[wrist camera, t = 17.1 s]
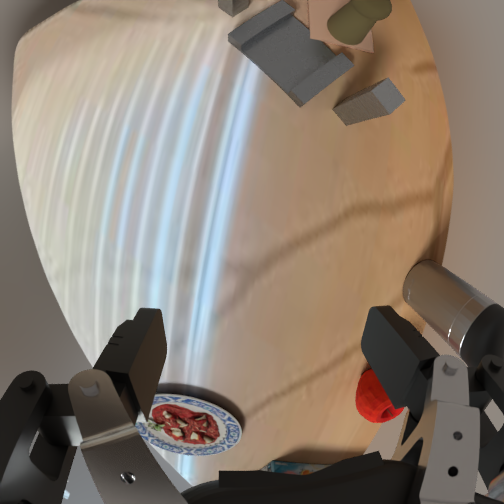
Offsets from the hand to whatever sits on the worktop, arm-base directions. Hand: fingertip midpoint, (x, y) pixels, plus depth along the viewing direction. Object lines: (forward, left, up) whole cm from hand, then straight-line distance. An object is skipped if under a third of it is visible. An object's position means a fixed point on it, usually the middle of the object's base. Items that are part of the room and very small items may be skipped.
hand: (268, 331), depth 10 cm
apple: (-26, +33, -28) cm, 51 cm away
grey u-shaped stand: (-5, -22, -28) cm, 36 cm away
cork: (-14, -28, -28) cm, 42 cm away
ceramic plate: (+13, +47, -29) cm, 57 cm away
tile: (-13, -30, -28) cm, 43 cm away
